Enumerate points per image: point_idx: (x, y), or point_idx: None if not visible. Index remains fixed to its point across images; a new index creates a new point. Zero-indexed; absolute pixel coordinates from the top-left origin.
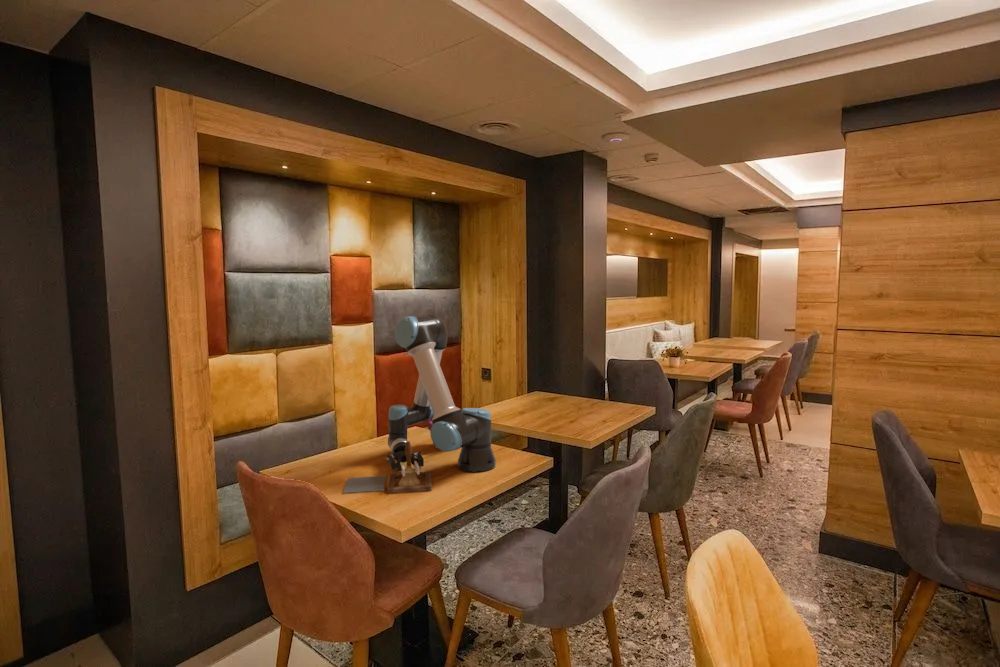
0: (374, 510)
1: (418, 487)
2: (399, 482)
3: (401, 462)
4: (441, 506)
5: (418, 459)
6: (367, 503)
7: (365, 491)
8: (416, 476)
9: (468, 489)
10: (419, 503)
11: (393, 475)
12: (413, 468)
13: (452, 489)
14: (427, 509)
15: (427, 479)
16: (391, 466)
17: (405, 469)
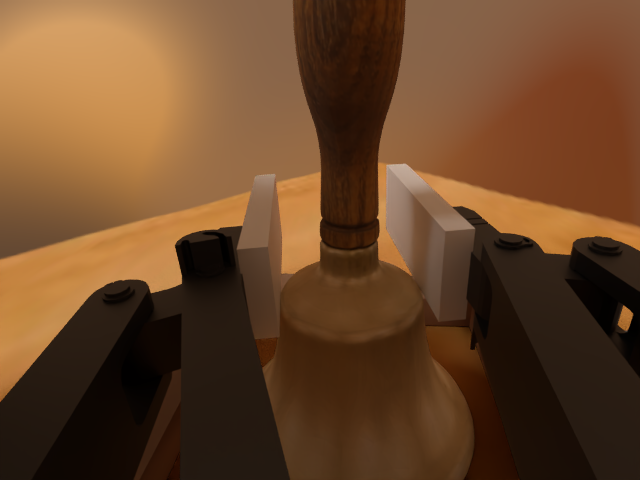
0: (498, 208)
1: (292, 274)
2: (453, 391)
3: (456, 228)
4: (234, 206)
5: (197, 239)
6: (570, 242)
7: None
8: (275, 350)
9: (13, 283)
10: (311, 223)
11: None
12: (295, 300)
13: (89, 294)
14: (290, 200)
15: (176, 370)
16: (632, 330)
17: (392, 271)
